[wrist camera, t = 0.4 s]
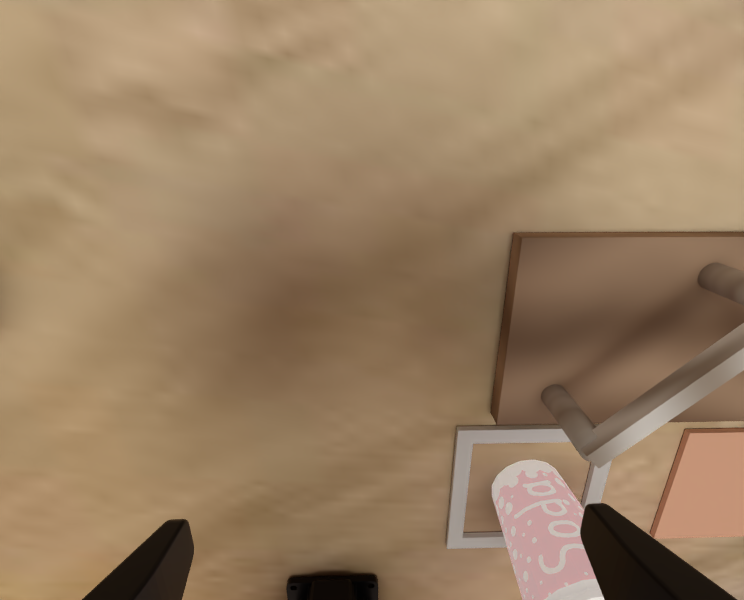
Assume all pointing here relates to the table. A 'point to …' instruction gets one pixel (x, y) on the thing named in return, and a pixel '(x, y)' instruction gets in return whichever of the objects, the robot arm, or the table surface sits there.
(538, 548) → the beverage cup
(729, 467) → the end mat
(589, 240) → the wire board
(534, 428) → the frame
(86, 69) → the table surface
